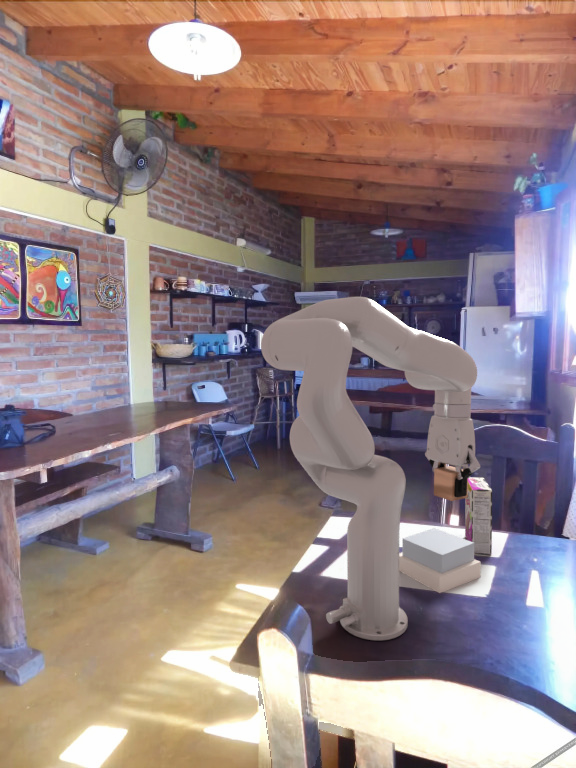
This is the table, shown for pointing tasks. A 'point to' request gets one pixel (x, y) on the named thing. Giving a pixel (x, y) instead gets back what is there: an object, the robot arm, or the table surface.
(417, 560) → the tower top
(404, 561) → the tower base
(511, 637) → the table surface
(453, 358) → the robot arm
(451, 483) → the terracotta block
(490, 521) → the candy bar box
